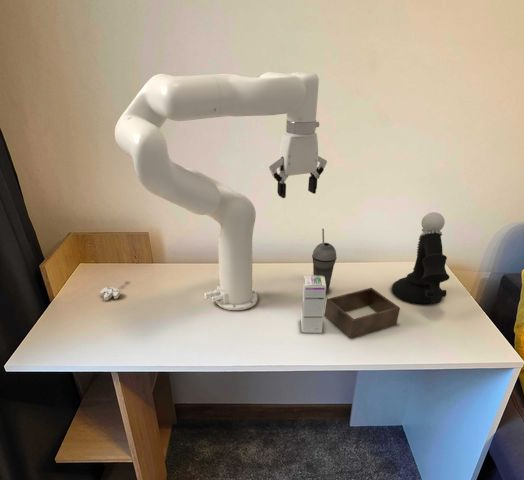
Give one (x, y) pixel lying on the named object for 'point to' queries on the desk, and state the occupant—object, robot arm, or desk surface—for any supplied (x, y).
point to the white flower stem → (110, 293)
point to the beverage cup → (324, 261)
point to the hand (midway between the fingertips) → (297, 194)
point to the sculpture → (425, 266)
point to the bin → (365, 324)
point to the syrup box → (313, 303)
